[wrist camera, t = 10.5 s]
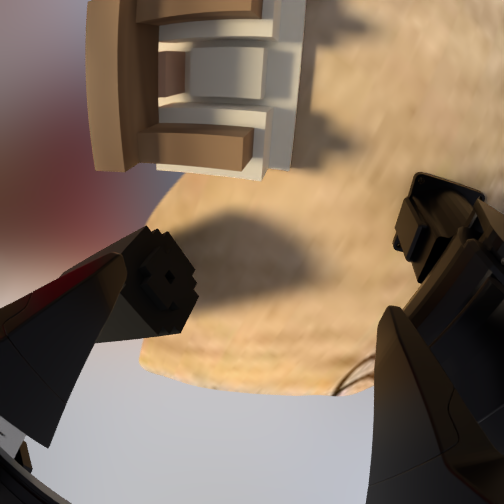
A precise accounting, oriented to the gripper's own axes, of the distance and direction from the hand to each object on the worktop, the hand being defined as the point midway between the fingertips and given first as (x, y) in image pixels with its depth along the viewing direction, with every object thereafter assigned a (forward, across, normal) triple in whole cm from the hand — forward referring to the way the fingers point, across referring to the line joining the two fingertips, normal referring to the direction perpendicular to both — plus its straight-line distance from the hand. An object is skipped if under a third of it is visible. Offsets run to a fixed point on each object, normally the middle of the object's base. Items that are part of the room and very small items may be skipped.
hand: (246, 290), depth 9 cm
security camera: (+13, +14, +12) cm, 23 cm away
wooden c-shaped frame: (+13, +6, -6) cm, 16 cm away
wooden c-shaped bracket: (+10, +6, -6) cm, 13 cm away
